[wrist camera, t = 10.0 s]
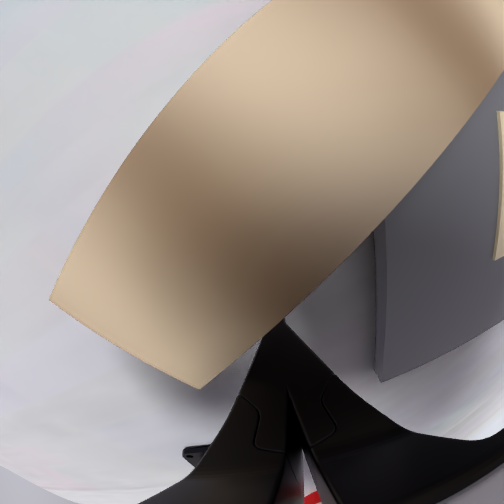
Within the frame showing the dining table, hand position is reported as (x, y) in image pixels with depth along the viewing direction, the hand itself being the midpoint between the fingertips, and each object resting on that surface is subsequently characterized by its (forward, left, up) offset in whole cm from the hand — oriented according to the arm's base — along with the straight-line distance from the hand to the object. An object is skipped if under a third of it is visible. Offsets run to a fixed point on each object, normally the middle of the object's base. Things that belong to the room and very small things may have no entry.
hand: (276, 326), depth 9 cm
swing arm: (+8, -5, -1) cm, 10 cm away
